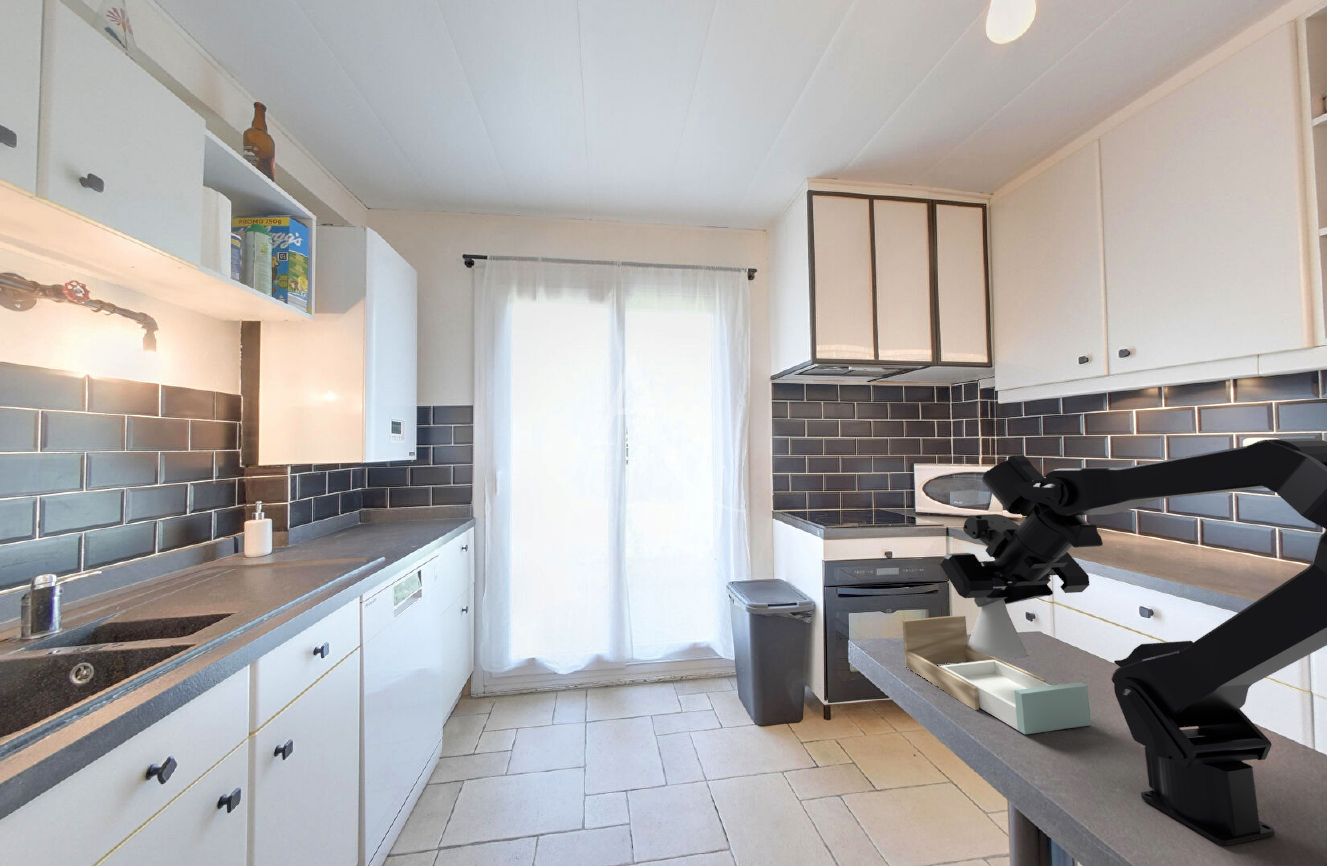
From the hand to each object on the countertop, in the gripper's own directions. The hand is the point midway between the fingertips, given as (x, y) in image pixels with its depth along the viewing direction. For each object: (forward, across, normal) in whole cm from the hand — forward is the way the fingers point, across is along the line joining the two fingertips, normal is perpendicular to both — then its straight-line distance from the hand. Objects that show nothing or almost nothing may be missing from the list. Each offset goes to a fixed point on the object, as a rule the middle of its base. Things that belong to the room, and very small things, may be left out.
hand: (986, 603), depth 73 cm
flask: (+4, 0, +6) cm, 7 cm away
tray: (+7, +1, +12) cm, 14 cm away
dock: (+11, +2, +7) cm, 13 cm away
